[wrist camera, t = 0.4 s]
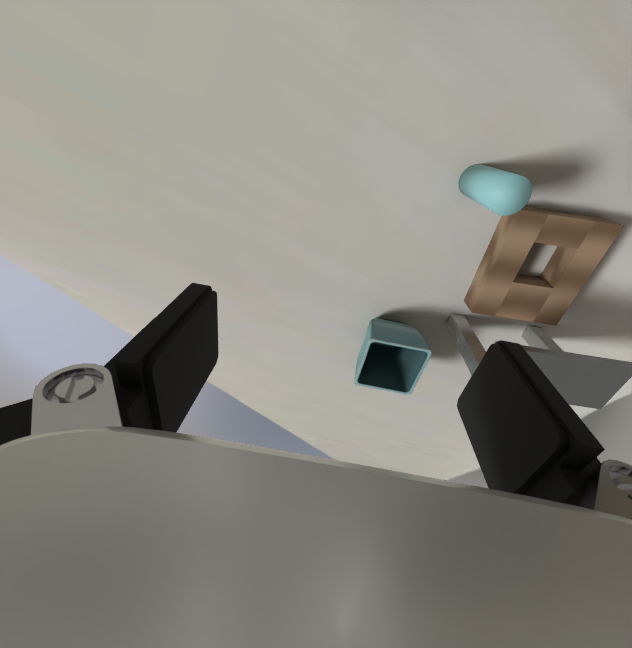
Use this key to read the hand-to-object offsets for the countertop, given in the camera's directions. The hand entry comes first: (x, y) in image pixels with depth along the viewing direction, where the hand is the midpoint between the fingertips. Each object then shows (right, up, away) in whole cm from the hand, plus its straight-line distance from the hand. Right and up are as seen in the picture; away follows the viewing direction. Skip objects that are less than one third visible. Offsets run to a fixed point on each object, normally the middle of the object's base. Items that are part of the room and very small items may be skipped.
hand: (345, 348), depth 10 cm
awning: (+27, +2, +36) cm, 45 cm away
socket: (+28, +9, +31) cm, 43 cm away
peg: (+18, +18, +26) cm, 37 cm away
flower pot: (+10, -1, +40) cm, 41 cm away
